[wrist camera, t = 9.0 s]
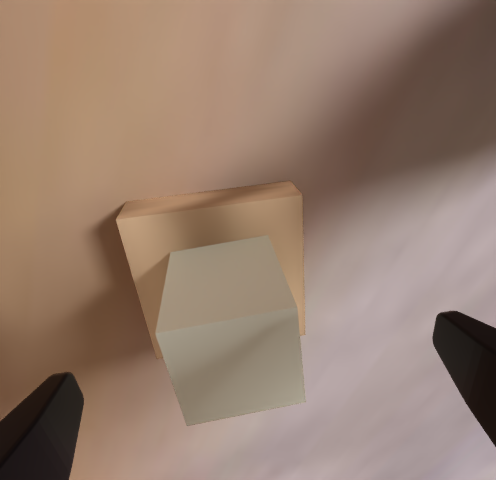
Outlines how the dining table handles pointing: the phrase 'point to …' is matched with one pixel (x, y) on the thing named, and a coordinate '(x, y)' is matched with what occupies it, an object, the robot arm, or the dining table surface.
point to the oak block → (211, 235)
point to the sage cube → (230, 331)
